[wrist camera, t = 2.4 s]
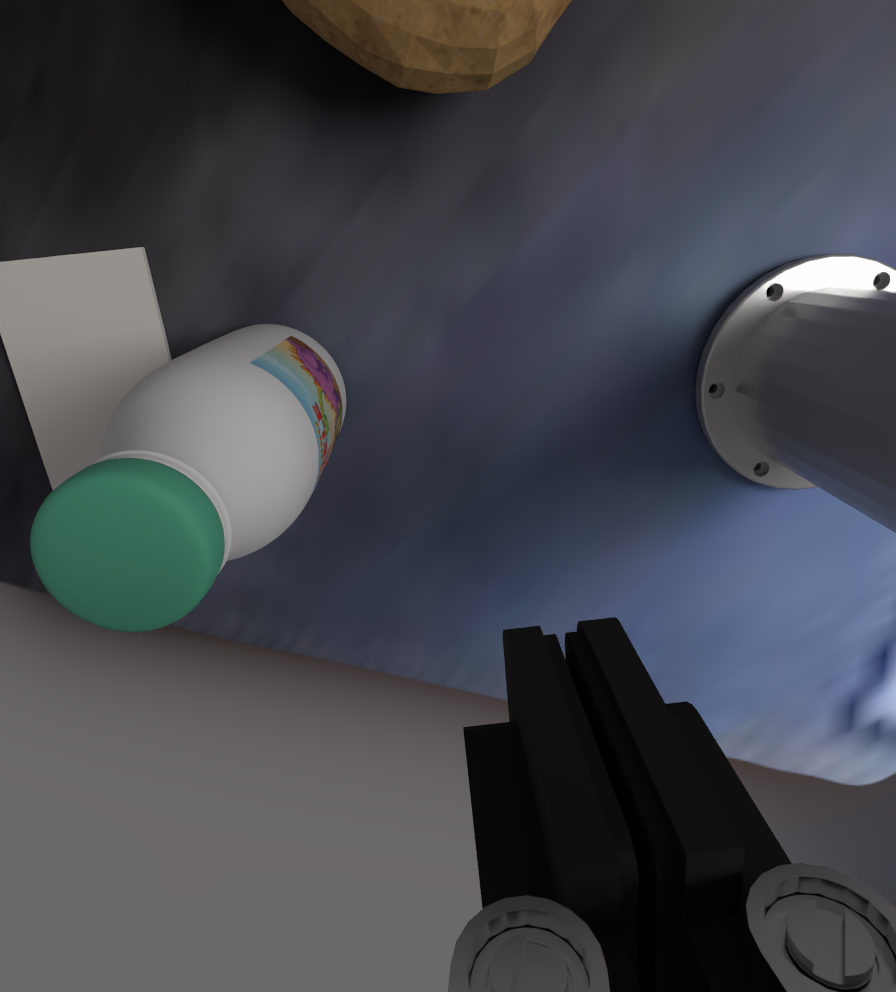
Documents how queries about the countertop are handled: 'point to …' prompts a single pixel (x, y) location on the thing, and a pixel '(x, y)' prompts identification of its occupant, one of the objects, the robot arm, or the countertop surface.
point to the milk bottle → (191, 477)
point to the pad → (79, 345)
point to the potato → (434, 37)
